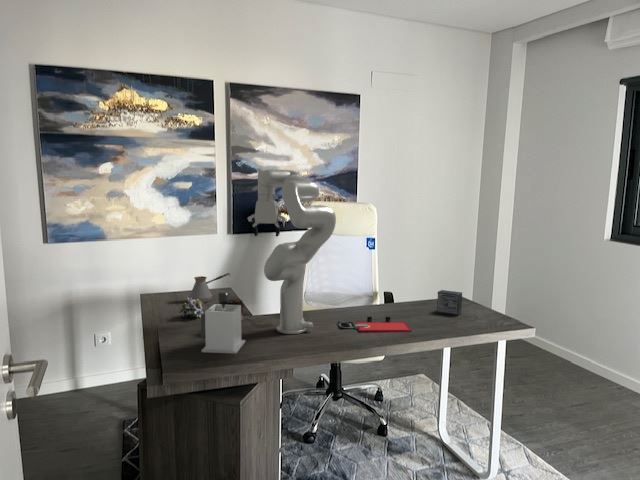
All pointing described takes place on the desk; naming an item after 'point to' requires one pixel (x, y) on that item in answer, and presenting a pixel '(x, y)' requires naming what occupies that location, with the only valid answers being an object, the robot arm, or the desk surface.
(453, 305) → the small box
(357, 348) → the desk surface
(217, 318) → the press housing
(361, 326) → the red board with handle
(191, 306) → the passion flower
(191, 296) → the coffee pot
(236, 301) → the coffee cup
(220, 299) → the plunger
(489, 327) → the desk surface
